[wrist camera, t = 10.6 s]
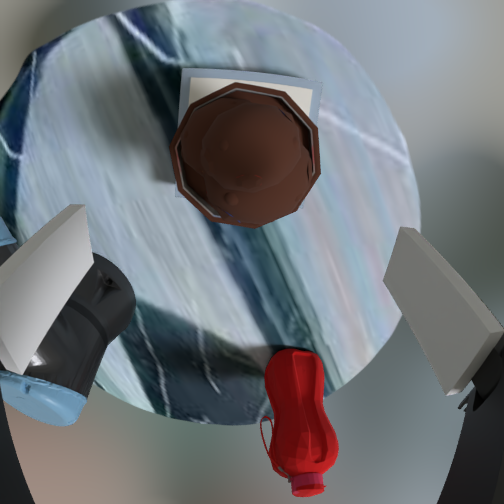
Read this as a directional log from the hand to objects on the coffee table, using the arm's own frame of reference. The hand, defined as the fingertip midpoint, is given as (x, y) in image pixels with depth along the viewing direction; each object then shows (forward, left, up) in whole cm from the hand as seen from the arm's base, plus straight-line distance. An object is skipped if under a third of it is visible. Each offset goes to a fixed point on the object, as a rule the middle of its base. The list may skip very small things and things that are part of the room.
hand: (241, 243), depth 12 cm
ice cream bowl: (0, +1, -21) cm, 21 cm away
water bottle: (+11, -36, -25) cm, 45 cm away
